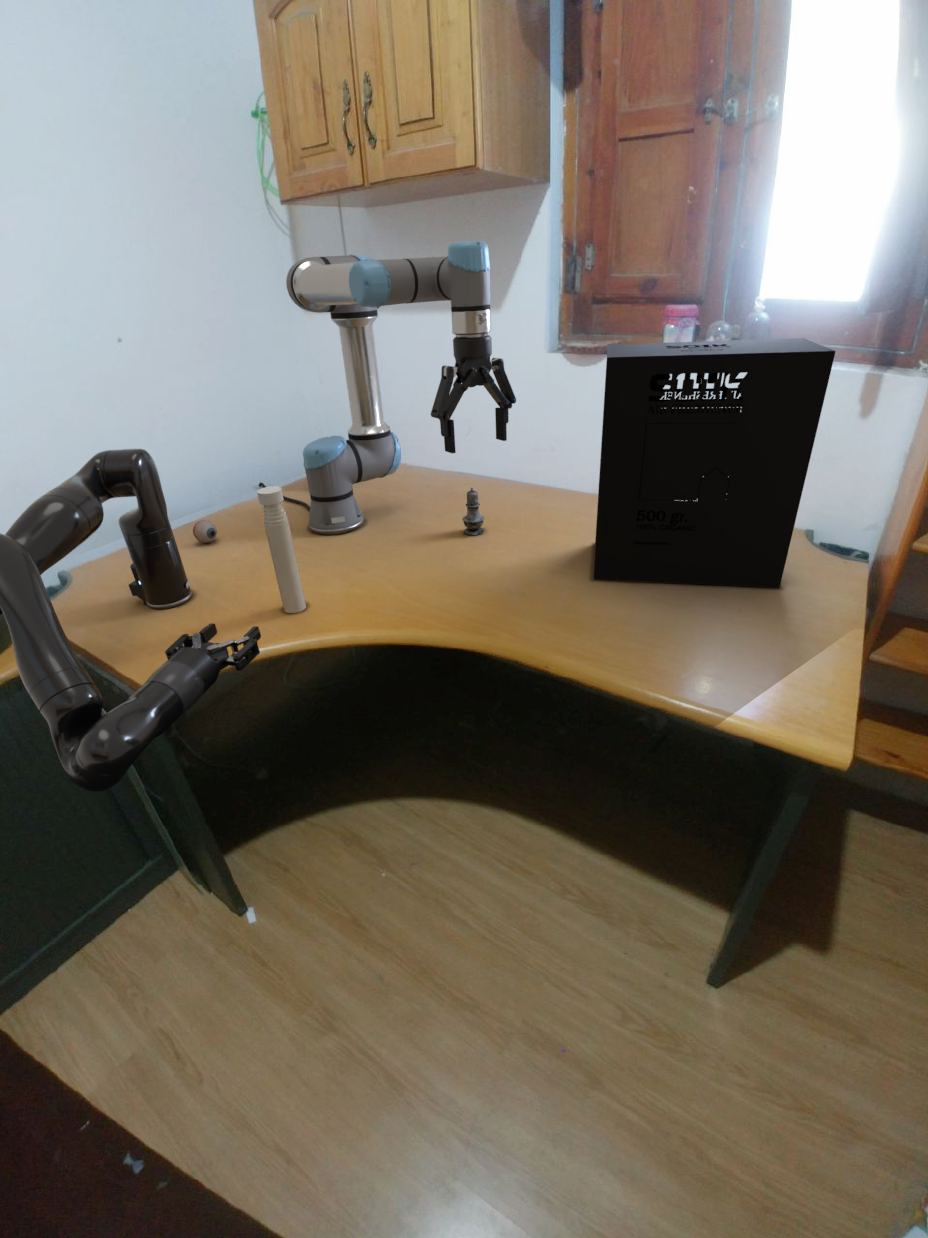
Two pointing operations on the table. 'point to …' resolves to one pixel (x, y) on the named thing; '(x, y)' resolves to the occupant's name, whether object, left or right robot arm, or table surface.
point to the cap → (270, 495)
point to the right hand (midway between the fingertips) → (476, 445)
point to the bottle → (284, 558)
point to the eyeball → (205, 531)
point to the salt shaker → (473, 515)
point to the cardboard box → (706, 459)
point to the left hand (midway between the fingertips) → (236, 629)
